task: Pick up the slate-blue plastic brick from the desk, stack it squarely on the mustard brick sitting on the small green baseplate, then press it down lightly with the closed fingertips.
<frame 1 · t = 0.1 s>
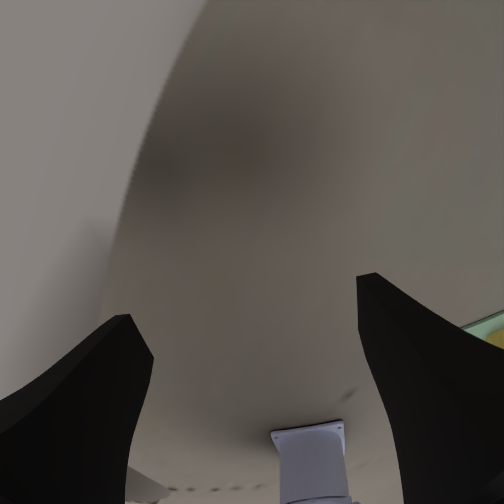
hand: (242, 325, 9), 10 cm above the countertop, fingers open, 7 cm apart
baseplate: (480, 354, 23), on the countertop
yellow brick: (497, 344, 22), resting on baseplate
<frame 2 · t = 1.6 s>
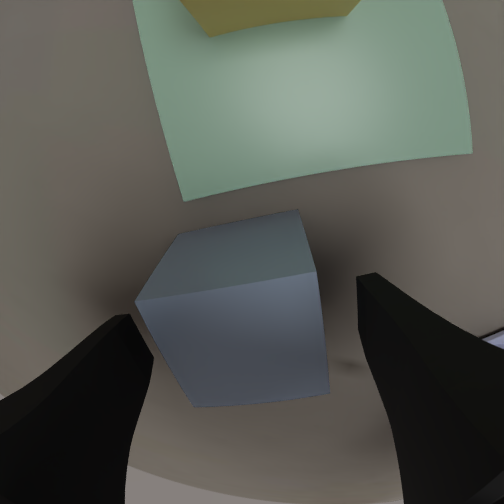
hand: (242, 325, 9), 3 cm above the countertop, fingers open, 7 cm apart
blue brick: (250, 274, 12), on the countertop
baseplate: (306, 15, 7), on the countertop
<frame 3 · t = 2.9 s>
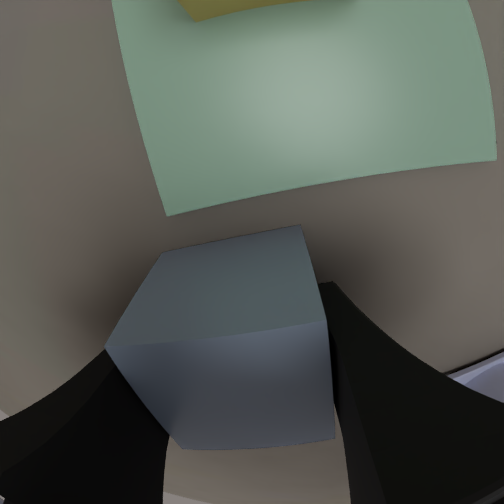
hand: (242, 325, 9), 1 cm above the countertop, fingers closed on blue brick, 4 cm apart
blue brick: (245, 298, 10), on the countertop, touching gripper
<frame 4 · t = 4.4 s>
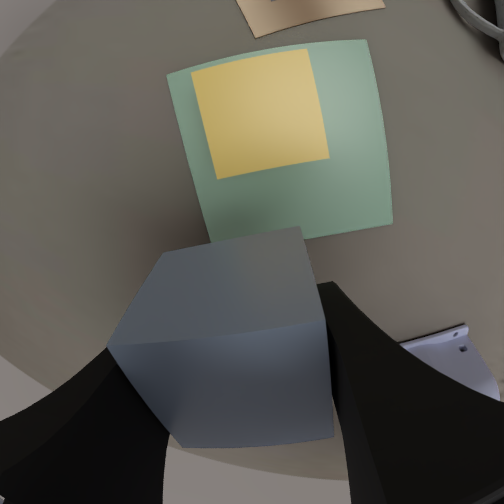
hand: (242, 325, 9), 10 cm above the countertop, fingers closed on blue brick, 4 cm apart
blue brick: (244, 298, 10), point 8 cm above the countertop, touching gripper
ceramic mug: (497, 22, 10), on the countertop
baseplate: (288, 145, 16), on the countertop
yellow brick: (262, 113, 14), resting on baseplate
when the fingers open (7 cm above the countertop, at t = 6.1 s): blue brick stays where it is, resting on yellow brick.
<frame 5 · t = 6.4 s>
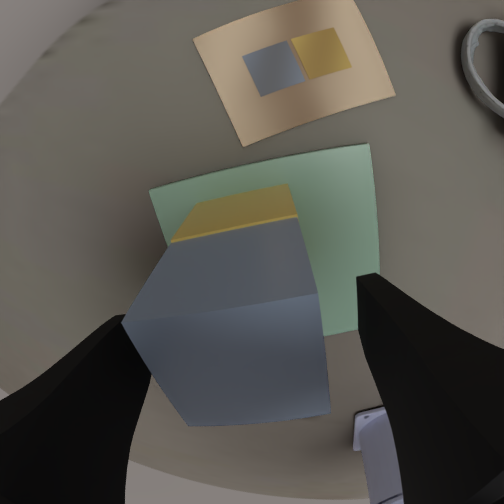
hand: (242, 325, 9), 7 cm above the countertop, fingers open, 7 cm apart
blue brick: (246, 285, 11), point 5 cm above the countertop, touching yellow brick
instruction card: (297, 60, 12), on the countertop
baseplate: (278, 262, 16), on the countertop
yellow brick: (251, 235, 15), resting on baseplate, touching blue brick
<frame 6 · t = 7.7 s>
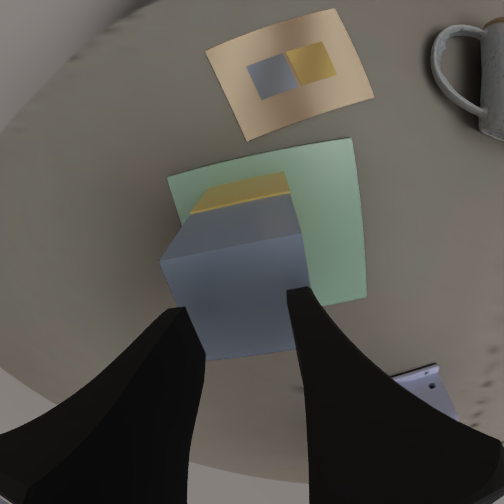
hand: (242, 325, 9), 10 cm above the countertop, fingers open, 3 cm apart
blue brick: (250, 249, 14), point 5 cm above the countertop, touching yellow brick
ceramic mug: (483, 85, 13), on the countertop
instruction card: (291, 69, 14), on the countertop
baseplate: (276, 239, 19), on the countertop
yellow brick: (253, 215, 18), resting on baseplate, touching blue brick
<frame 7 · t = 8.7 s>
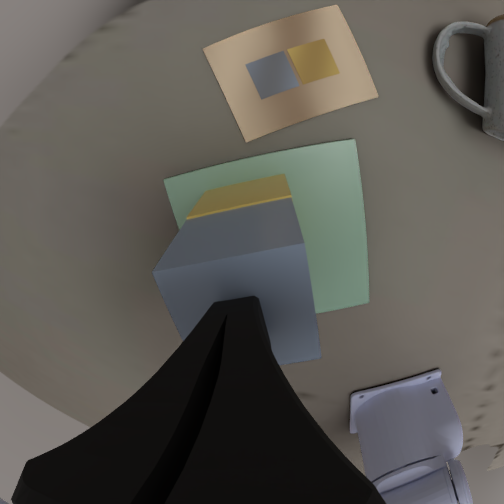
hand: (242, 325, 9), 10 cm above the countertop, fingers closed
blue brick: (249, 256, 13), point 5 cm above the countertop, touching yellow brick
ceramic mug: (486, 84, 13), on the countertop
instruction card: (293, 67, 14), on the countertop
baseplate: (277, 244, 18), on the countertop
yellow brick: (253, 219, 17), resting on baseplate, touching blue brick
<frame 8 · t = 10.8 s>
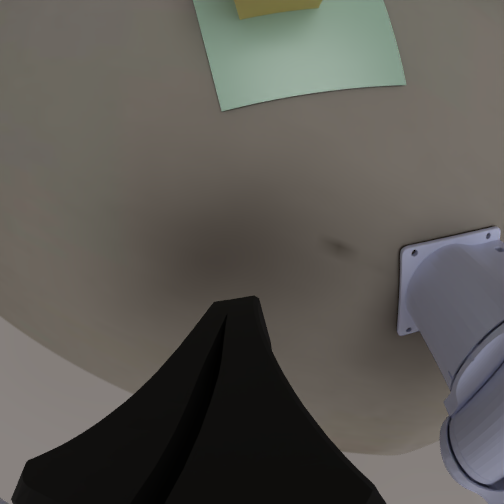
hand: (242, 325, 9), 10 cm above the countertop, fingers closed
baseplate: (295, 8, 13), on the countertop
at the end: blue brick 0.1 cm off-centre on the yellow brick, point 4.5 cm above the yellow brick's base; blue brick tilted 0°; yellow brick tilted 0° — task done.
